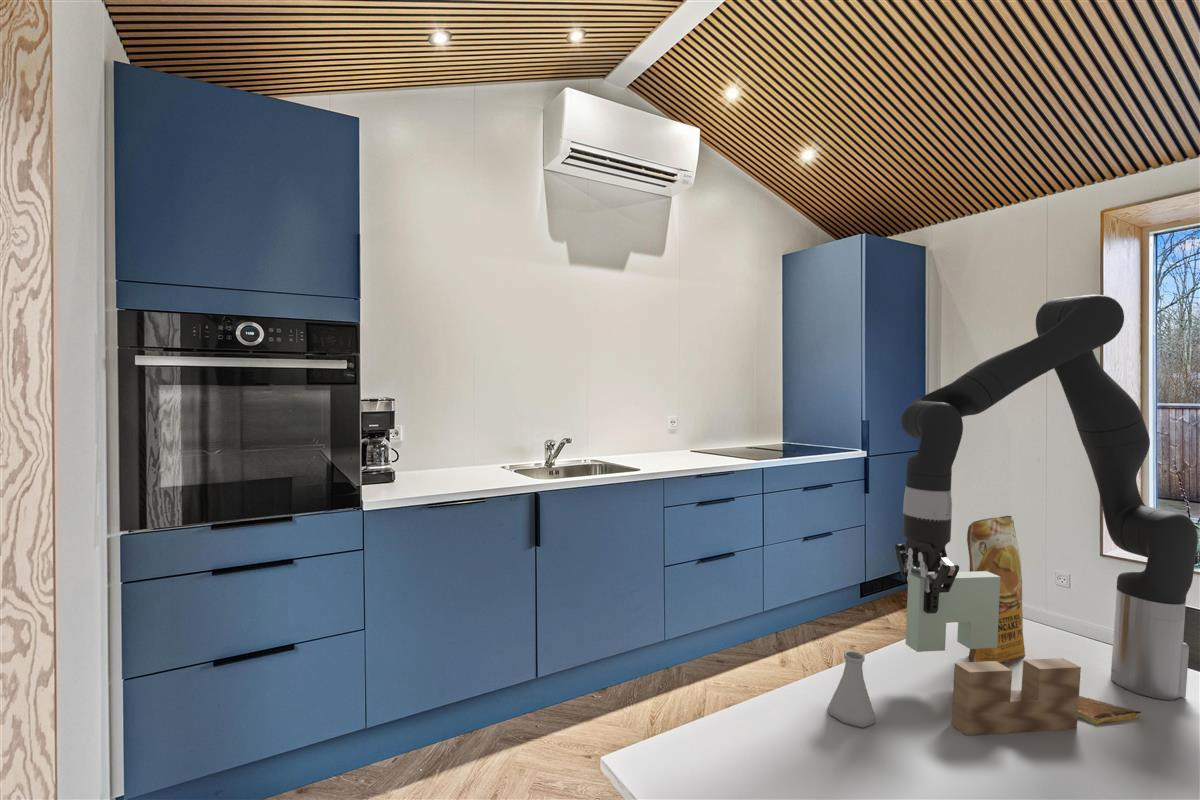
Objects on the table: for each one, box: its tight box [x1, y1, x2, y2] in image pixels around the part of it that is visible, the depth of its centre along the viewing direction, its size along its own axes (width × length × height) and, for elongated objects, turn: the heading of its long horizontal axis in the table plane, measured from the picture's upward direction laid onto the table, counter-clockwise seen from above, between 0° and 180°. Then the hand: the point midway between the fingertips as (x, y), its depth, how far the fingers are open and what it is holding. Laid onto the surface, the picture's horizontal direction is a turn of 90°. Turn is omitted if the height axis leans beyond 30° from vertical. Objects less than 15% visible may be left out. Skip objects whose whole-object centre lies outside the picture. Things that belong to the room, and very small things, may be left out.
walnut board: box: [950, 657, 1082, 737], centre depth 92 cm, size 20×3×10 cm, turn 99°
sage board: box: [905, 571, 1000, 653], centre depth 104 cm, size 16×3×13 cm, turn 99°
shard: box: [1078, 695, 1142, 725], centre depth 96 cm, size 11×8×2 cm
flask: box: [827, 649, 875, 729], centre depth 93 cm, size 7×7×10 cm
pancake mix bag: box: [966, 515, 1026, 664], centre depth 117 cm, size 7×19×28 cm, turn 115°
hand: (922, 608), depth 103 cm, fingers closed on sage board, 3 cm apart
